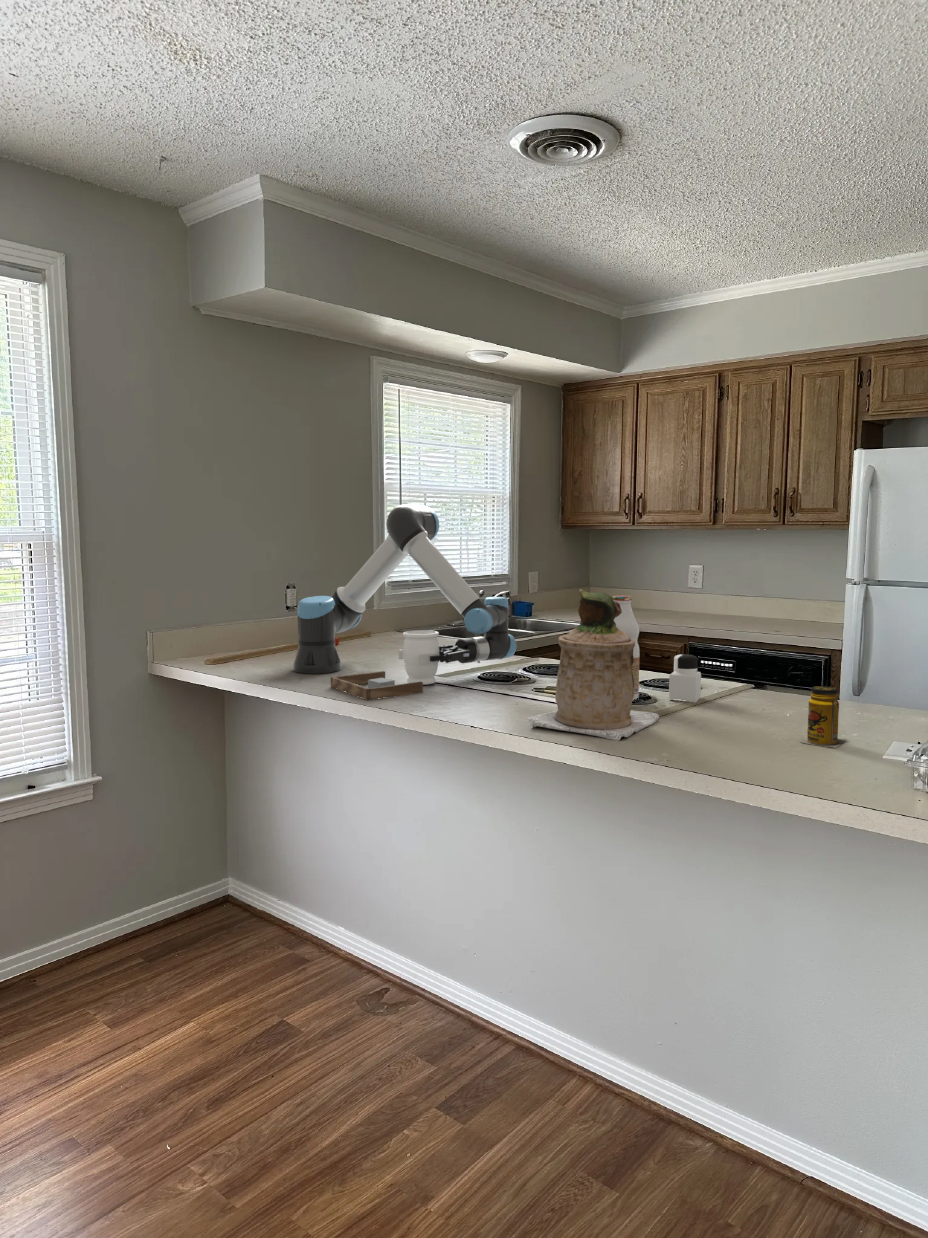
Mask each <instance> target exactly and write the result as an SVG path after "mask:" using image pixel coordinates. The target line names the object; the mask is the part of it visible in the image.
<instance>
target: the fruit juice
mask: <svg viewBox="0 0 928 1238" xmlns="http://www.w3.org/2000/svg"><path fill="white" fill-rule="evenodd" d="M612 598H613V601H616V602H618V603H619V604H620V607H621V610H622V613H621V614H620V615H619V616H617V617H616V618H615V619H614V622H615V623H616V627H617V628H618V629H619V630H621V631H623V632H625V633H627V634H628V635H629V637H630V638H631V639H633V640H634V641H635V646H634V648H633V657H634V662H633V667H632V673H633V679H634V697H633V700H634V699H637V698H638V699H639V696H640V695H639V692H640V691H639V689H640V645H639V642H638V638H639V636H640V635H639V634H640V625H639V623H638V622H637V620H636V617H635V615H634V611H633V607H632V601H633V597H632V596H631V595H625V594H624V595H621V594H620V595H619V594H618V595H613V596H612Z"/></svg>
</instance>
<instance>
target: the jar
mask: <svg viewBox="0 0 928 1238" xmlns="http://www.w3.org/2000/svg"><path fill="white" fill-rule="evenodd" d="M439 636H440V632H439V631H436V630H430V629H424V630H423V629H419V630H418V629H417V630H407V631H404V632H403V633H402V637H404V641H403V645H402V650H403V657H404V659H403V663H404V668H405V672H406V674H407V676H408V679H407V681H406V682H407V683H414V682H423V686H425V685H432V684H435V683H436V682H437V679H436V678H435V676H436V674H437V670H438V668H439V667H438V666H439V662H436V663H427V664H419V656H418V655H420V654H429V653H439V646H440V645H439V640H438V637H439Z"/></svg>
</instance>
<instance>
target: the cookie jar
mask: <svg viewBox="0 0 928 1238" xmlns="http://www.w3.org/2000/svg"><path fill="white" fill-rule="evenodd" d="M578 592H579V595H580V599H579V601H578V602H579V606H578V607H577V608H576V610H577V611H578V616H579V618H580V624H579V625H578V626H576V627H575V628H573V629H572V630H571V631H569V633H567V634H563V635H560V636H559V637H558V638H557V640H558V641H557V643H558V645H559V647H560V654H559V655H560V657H559V658H560V659H559V665H558V671H557V675H556V676H557V678H556V683H555V702H556V706H557V709H555V710H553V711H549V712H543V713H541V714H537V715H532V716H529V717H527V721H528V723H529V725H530V729H533V728H534V727H535V726H537V727H541V728H544V729H552V730H558V731H565V732H570V733H571V732H572V733H578V734H583V735H589V736H596V737H599V738H600V737H601V738H603V739H608V740H612V741H613V740H614V741H620V740H621V738H622V737H624V738H628V737H630V736H632V734H634V733H637V732H640V731H641V730H643V729H645V728H646V727H649V726H651V725H653V724H655V723H656V722H657V721H658V720H659V718H660V715H659V714H658V713H654V712H652V711H640V710H631V707H632V705H633V703H632V701H633V697H634V679H633V673H632V667H633V662H634V657H633V648H634V646H635V641H634V640H633V639H631V638H630V637H629V635H628V634H627V633H625V632H623V631H621V630H619V629H618V628H617V627H616V623H615V622H614V619H615V618H616V617H617V616H619V615H620V614H621V613H622V610H621V607H620V604H619V603H618V602H616V601H613V596H611V595H609V594H607V593H606V592H587V591H586V590H584V589H582V588H581V589H579V590H578Z"/></svg>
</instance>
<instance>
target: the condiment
mask: <svg viewBox="0 0 928 1238" xmlns="http://www.w3.org/2000/svg"><path fill="white" fill-rule="evenodd" d="M838 692H839V691H838V689H837V688H835V687H832V686H823V685H821V686H813V687H811V689H810V699H809V700H808V712H807V738H806V739H804V740H802V741H801V742H800V743H802V744H807V745H814V746H819V747H827V748H835V749H836V748H838V747H839V746H841V745H843V743H845V742H846V741H847V740H849V739H846V738H843V739H842V738H839V716H840V715H839V712H840V709H839V708H840V702H839V700H838Z"/></svg>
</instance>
